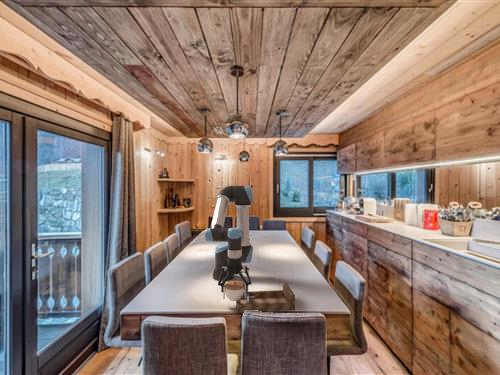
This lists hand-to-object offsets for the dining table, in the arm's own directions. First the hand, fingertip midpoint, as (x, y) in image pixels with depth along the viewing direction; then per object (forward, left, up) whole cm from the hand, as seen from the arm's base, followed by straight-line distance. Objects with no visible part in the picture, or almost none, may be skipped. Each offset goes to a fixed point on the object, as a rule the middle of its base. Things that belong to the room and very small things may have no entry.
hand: (234, 297), depth 140 cm
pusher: (+8, +4, -4) cm, 9 cm away
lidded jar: (0, 0, -1) cm, 1 cm away
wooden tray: (+14, +7, -4) cm, 17 cm away
